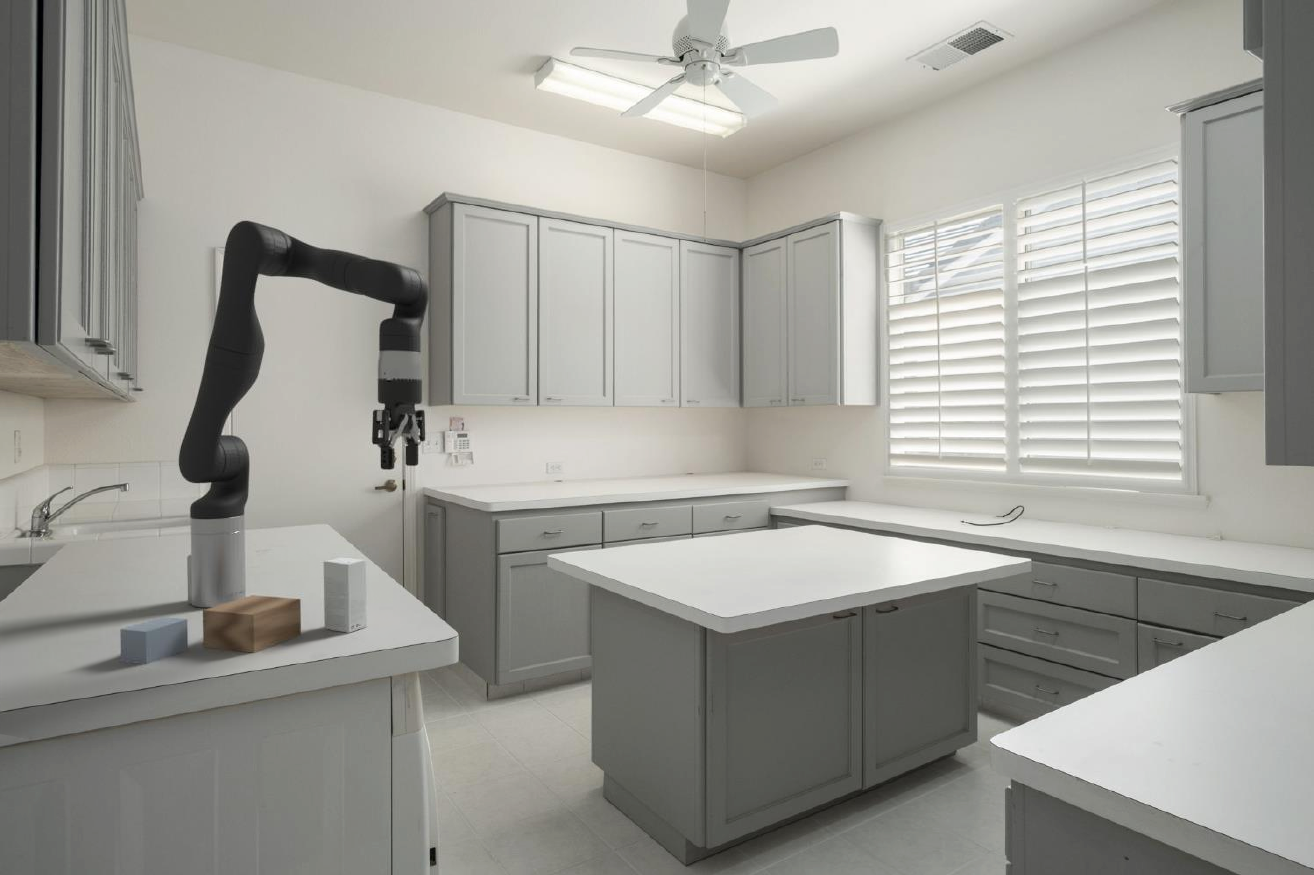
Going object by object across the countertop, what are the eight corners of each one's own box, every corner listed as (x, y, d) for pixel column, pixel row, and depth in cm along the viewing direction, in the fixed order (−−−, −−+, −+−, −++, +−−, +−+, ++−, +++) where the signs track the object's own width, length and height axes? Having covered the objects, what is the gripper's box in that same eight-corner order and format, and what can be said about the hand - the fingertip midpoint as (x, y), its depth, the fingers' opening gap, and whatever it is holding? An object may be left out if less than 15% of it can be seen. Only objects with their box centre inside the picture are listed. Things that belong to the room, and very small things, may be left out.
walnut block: (203, 647, 117) (202, 610, 117) (253, 629, 126) (252, 595, 126) (254, 652, 114) (253, 614, 114) (300, 633, 124) (300, 599, 124)
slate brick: (121, 661, 110) (120, 629, 110) (163, 647, 117) (162, 616, 117) (146, 664, 109) (146, 631, 109) (187, 650, 116) (187, 619, 116)
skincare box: (367, 627, 128) (367, 559, 128) (348, 633, 124) (347, 564, 124) (343, 622, 131) (342, 556, 130) (323, 629, 127) (322, 561, 126)
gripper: (401, 379, 138) (401, 464, 139) (358, 375, 124) (358, 470, 124) (438, 379, 137) (437, 465, 137) (398, 375, 123) (398, 471, 123)
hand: (400, 467), depth 131 cm, fingers open, 8 cm apart
